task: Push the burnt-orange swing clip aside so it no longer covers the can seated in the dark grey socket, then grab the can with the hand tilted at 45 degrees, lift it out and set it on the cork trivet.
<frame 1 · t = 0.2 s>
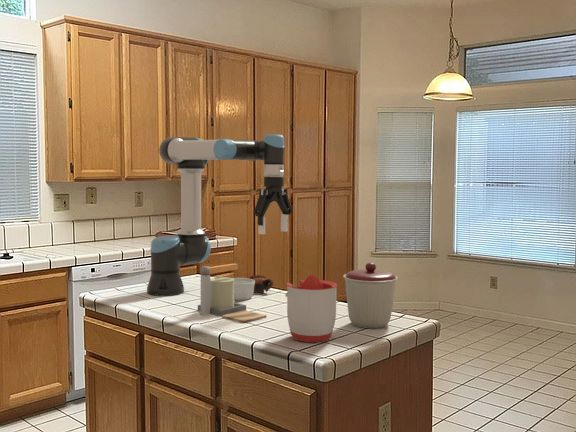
hand: (273, 232, 231), 28 cm above the worktop, tool pointing down, fingers open, 13 cm apart
socket: (221, 310, 225), on the worktop
clip: (219, 268, 223), point 16 cm above the worktop, hinge at 0.0°
trivet: (244, 317, 215), on the worktop
canister: (369, 325, 207), on the worktop
citrus juicer: (309, 338, 190), on the worktop
can: (221, 311, 225), resting in socket
ramekin: (238, 298, 248), on the worktop
pottery mug: (260, 293, 259), on the worktop
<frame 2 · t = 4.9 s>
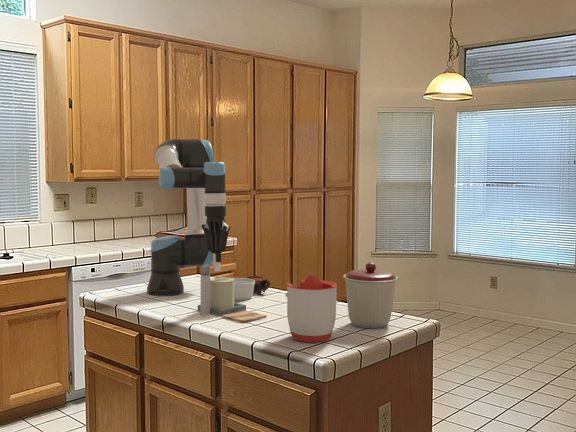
hand: (216, 271, 220), 15 cm above the worktop, tool pointing down, fingers closed
clip: (218, 268, 223), point 16 cm above the worktop, hinge at 3.4°, touching gripper
pottery mug: (257, 293, 258), on the worktop
everything else where it was.
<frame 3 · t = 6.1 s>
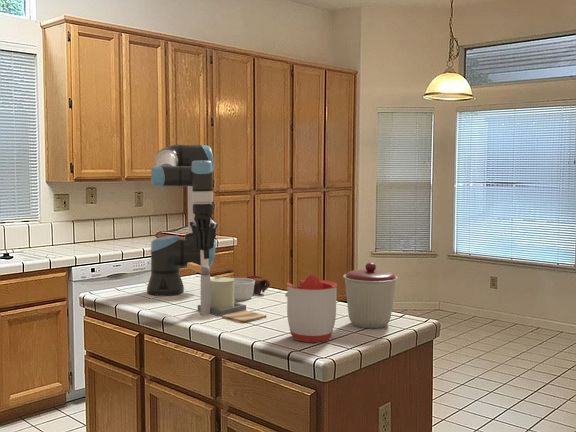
hand: (204, 267, 225), 16 cm above the worktop, tool pointing down, fingers closed
clip: (198, 267, 224), point 16 cm above the worktop, hinge at 71.9°, touching gripper
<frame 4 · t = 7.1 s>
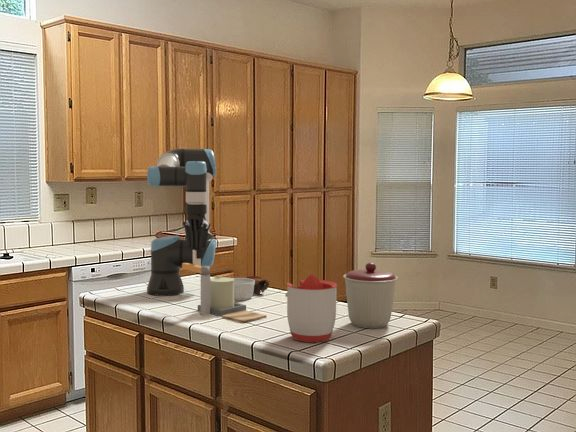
hand: (196, 267, 227), 15 cm above the worktop, tool pointing down, fingers closed
clip: (195, 267, 223), point 16 cm above the worktop, hinge at 79.9°, touching gripper
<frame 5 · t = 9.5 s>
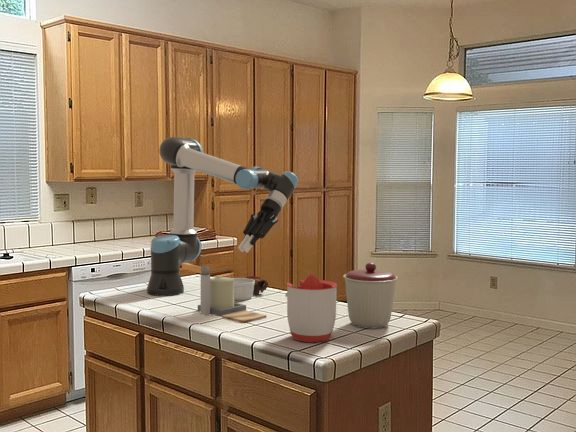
hand: (242, 250, 231), 21 cm above the worktop, tool tilted 45°, fingers open, 2 cm apart
clip: (195, 267, 223), point 16 cm above the worktop, hinge at 80.2°
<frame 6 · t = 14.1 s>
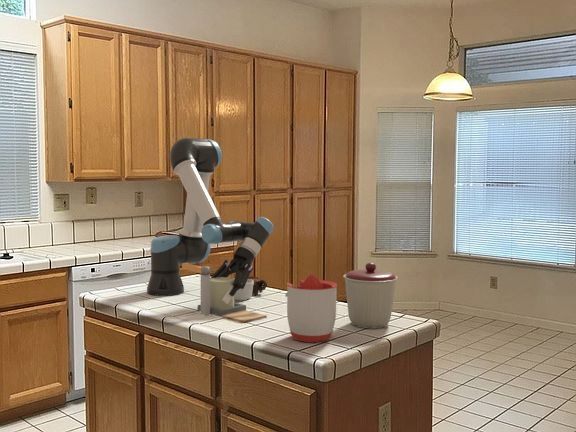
hand: (215, 300, 222), 4 cm above the worktop, tool tilted 45°, fingers closed on can, 9 cm apart
can: (221, 311, 225), resting in socket, touching gripper
when the fingers open (6 cm above the worktop, at t = 19.7 s): can drops 1 cm, resting on trivet.
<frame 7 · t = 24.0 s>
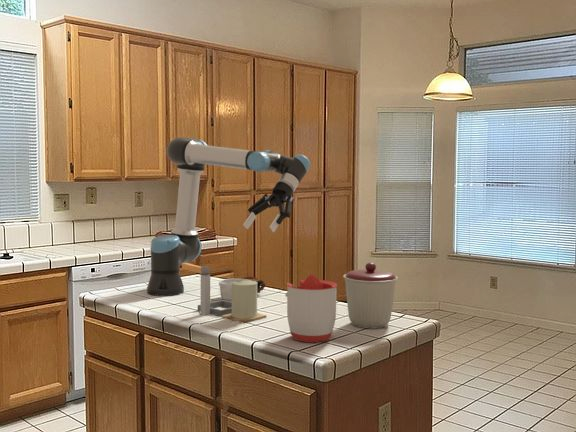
hand: (258, 228, 230), 30 cm above the worktop, tool tilted 45°, fingers open, 13 cm apart
can: (244, 315, 215), point 1 cm above the worktop, touching trivet
ramekin: (235, 299, 246), on the worktop
pottery mug: (251, 294, 256), on the worktop
everything else where it was.
at the end: can inside the target area on the trivet (0.1 cm from its centre), point 0.6 cm above the trivet's base; can tilted 0°; clip at +80° (first picture: +0°) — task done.
